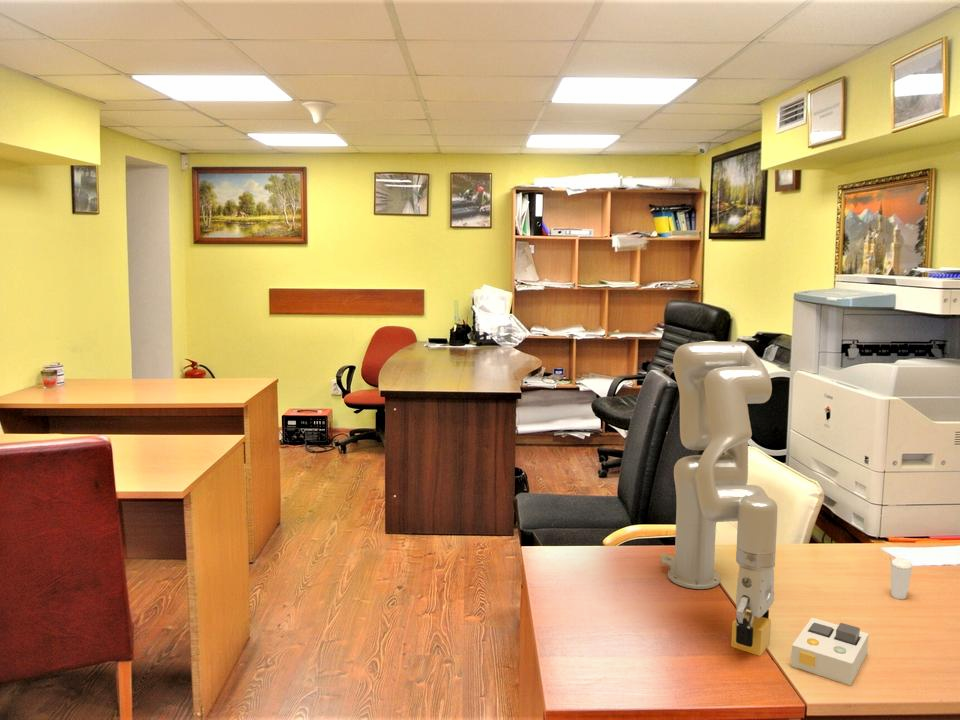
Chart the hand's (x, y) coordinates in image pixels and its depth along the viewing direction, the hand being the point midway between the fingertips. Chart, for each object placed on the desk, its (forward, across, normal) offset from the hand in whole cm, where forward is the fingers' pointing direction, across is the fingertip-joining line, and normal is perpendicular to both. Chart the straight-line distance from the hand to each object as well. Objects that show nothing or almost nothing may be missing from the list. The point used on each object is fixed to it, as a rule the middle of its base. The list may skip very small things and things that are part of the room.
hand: (752, 635), depth 158 cm
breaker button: (0, +7, -17) cm, 18 cm away
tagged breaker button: (+2, +7, -12) cm, 14 cm away
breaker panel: (+3, +4, -14) cm, 15 cm away
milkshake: (+2, +43, -20) cm, 48 cm away
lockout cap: (+3, 0, 0) cm, 3 cm away
